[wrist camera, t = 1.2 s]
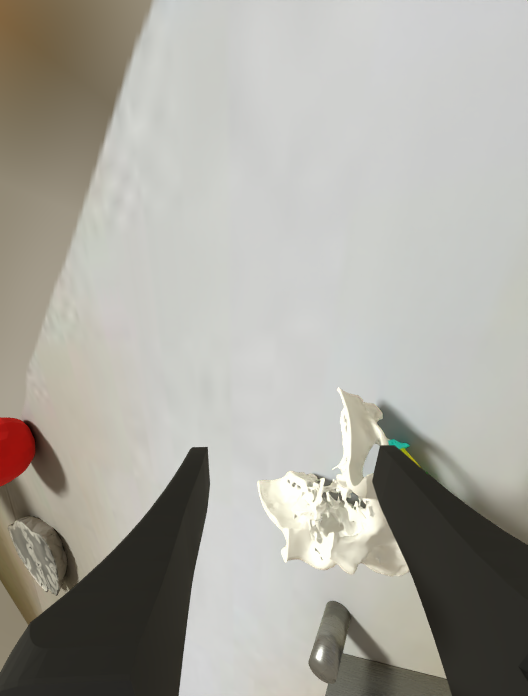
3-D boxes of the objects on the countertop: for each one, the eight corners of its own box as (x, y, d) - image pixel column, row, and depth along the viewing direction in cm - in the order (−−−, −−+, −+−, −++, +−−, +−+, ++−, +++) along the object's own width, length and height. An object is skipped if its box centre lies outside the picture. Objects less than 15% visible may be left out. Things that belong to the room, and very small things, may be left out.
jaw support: (383, 606, 23) (277, 613, 19) (340, 493, 30) (257, 482, 26) (519, 533, 17) (410, 523, 13) (428, 416, 24) (339, 387, 20)
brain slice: (45, 573, 71) (31, 585, 68) (18, 508, 69) (2, 518, 67) (87, 589, 60) (72, 603, 58) (56, 513, 59) (39, 524, 56)
